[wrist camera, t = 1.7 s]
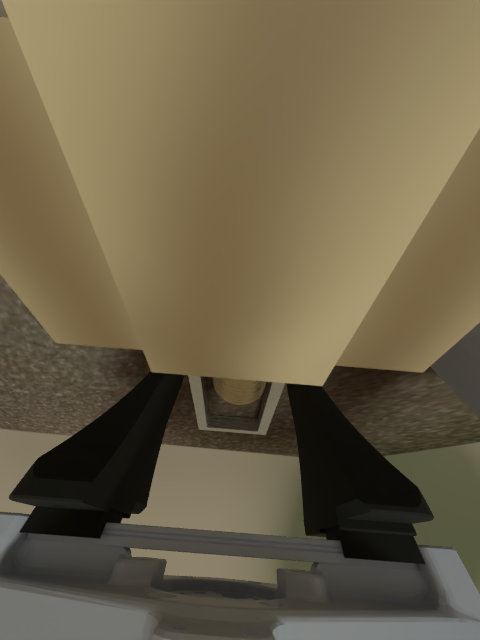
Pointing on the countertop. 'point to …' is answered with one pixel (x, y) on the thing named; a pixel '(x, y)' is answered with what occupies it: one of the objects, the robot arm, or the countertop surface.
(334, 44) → the wooden stepped block
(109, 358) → the countertop surface
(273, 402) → the cradle
